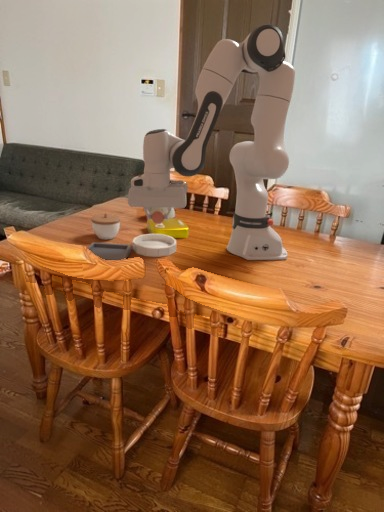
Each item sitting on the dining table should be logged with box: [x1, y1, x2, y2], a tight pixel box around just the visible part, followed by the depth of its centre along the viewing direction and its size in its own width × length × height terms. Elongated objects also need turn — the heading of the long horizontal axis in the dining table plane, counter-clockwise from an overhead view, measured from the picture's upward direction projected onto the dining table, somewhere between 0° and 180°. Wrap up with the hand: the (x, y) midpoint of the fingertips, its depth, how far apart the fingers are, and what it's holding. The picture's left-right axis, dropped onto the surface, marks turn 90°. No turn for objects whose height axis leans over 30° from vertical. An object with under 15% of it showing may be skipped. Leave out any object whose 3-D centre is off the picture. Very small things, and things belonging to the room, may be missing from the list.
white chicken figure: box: [145, 207, 176, 221], centre depth 161 cm, size 14×14×15 cm
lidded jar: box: [90, 213, 121, 241], centre depth 135 cm, size 11×11×9 cm
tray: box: [87, 241, 133, 260], centre depth 119 cm, size 14×14×2 cm
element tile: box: [146, 217, 190, 240], centre depth 145 cm, size 15×15×5 cm
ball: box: [151, 211, 164, 224], centre depth 124 cm, size 5×5×5 cm
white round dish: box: [132, 233, 177, 258], centre depth 128 cm, size 16×16×3 cm
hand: (157, 219), depth 124 cm, fingers closed on ball, 5 cm apart
